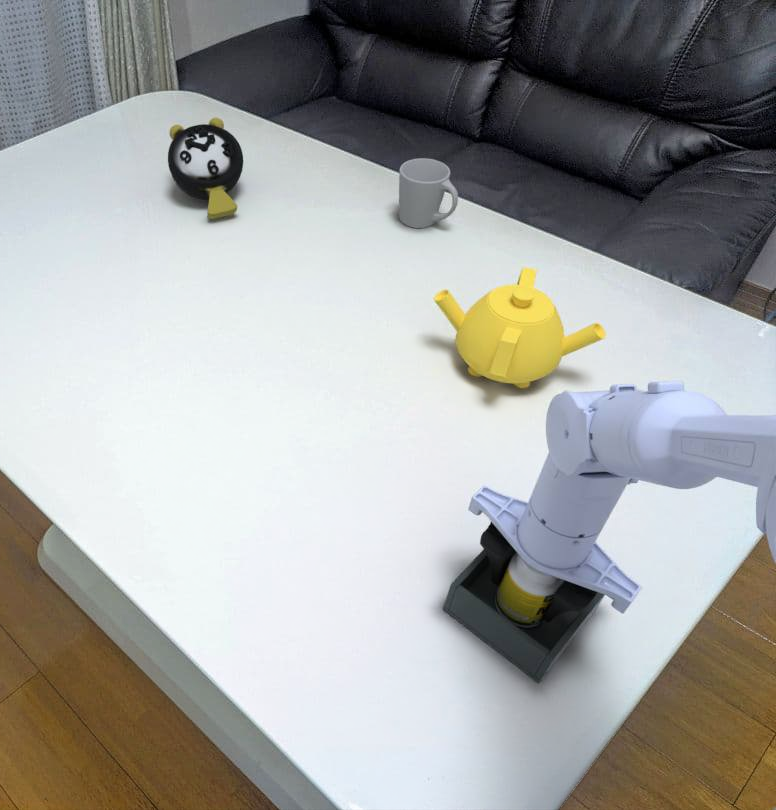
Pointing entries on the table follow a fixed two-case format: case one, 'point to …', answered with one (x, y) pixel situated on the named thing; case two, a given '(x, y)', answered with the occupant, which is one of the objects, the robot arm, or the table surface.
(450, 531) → the table surface
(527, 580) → the supplement bottle
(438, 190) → the cup
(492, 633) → the storage tray
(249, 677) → the table surface
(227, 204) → the alarm clock
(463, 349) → the teapot
